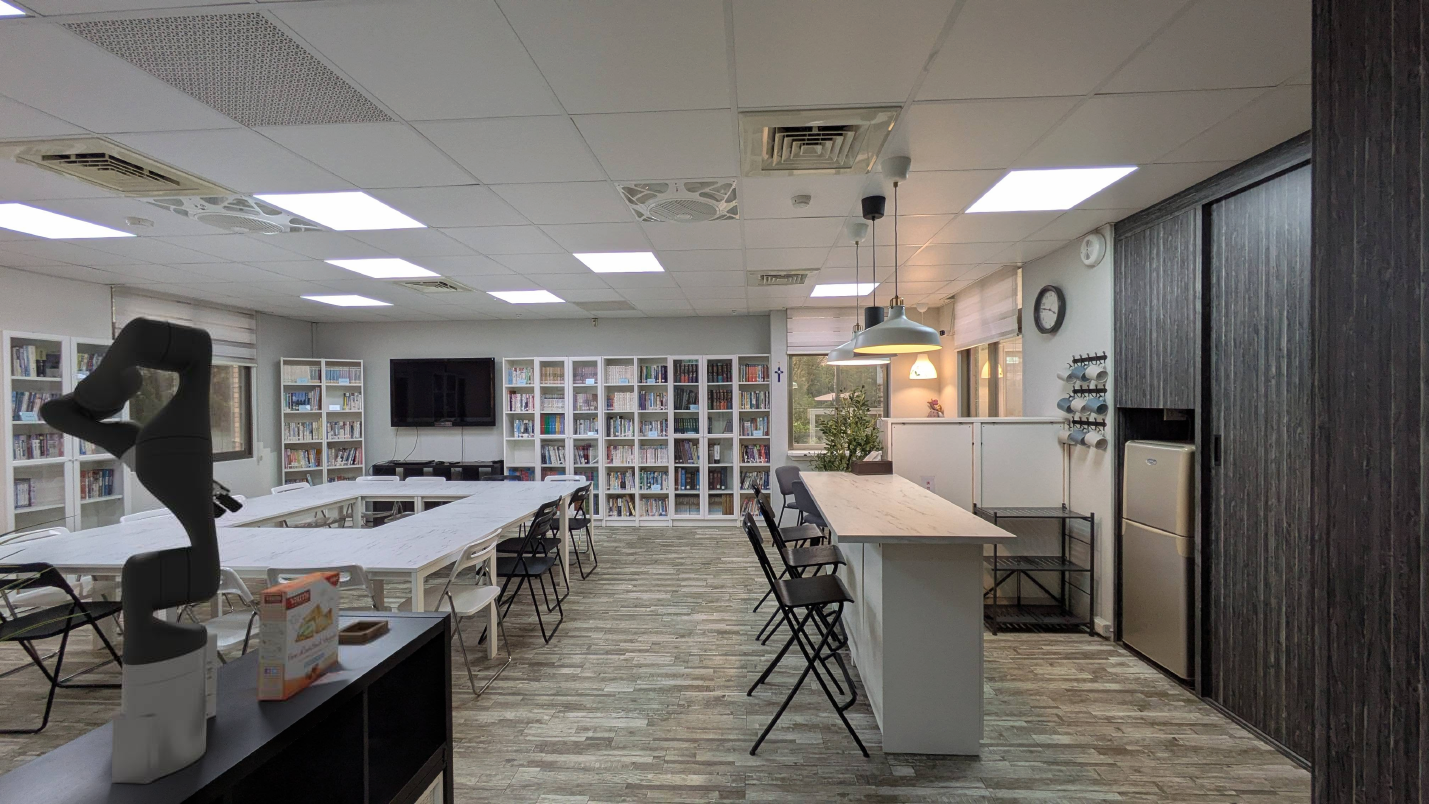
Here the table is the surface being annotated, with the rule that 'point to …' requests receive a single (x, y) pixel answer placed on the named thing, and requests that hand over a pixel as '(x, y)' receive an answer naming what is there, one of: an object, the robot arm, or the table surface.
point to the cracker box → (297, 634)
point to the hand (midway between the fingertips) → (231, 512)
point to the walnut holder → (362, 631)
